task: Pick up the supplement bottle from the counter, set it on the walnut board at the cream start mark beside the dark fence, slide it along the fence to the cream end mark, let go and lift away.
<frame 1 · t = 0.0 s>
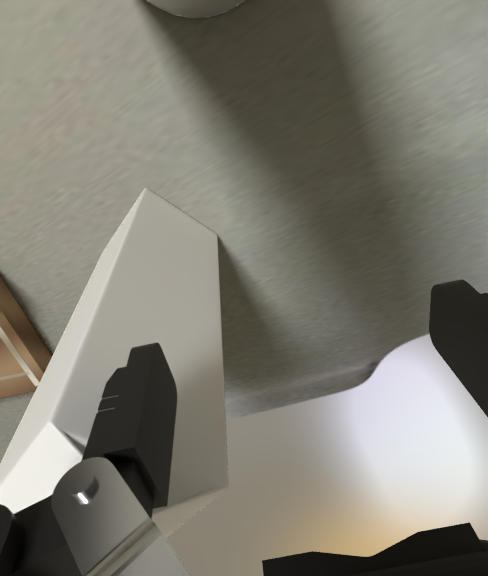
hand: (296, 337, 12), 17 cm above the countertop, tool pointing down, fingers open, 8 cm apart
milk: (160, 241, 28), on the countertop, touching gripper
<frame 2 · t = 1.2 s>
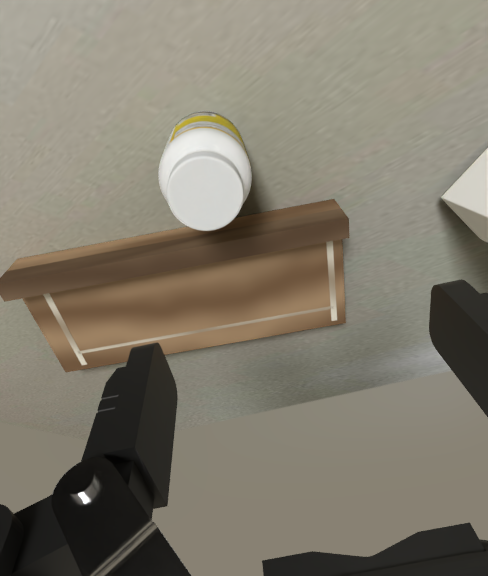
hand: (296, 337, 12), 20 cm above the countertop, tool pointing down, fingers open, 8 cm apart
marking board: (190, 286, 34), on the countertop
milk: (487, 188, 31), on the countertop
supplement bottle: (206, 149, 28), on the countertop
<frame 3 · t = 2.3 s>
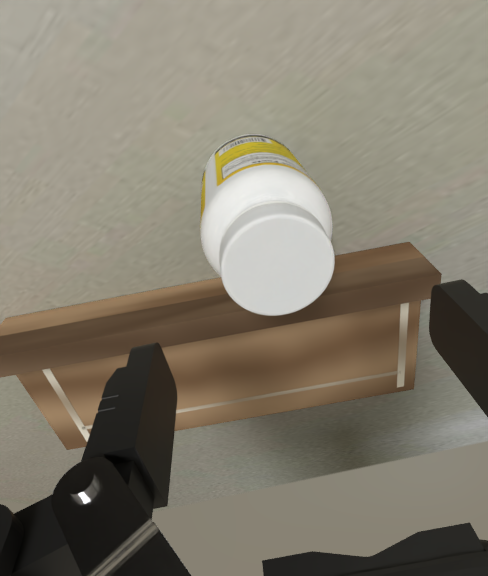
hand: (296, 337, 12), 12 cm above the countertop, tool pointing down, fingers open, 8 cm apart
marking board: (221, 346, 28), on the countertop
supplement bottle: (251, 182, 22), on the countertop
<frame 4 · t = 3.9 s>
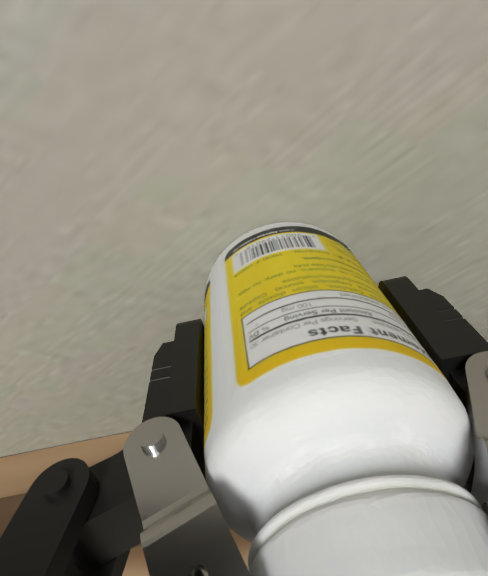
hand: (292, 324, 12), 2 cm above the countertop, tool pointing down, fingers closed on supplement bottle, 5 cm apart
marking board: (236, 488, 20), on the countertop
supplement bottle: (281, 286, 14), on the countertop, touching gripper
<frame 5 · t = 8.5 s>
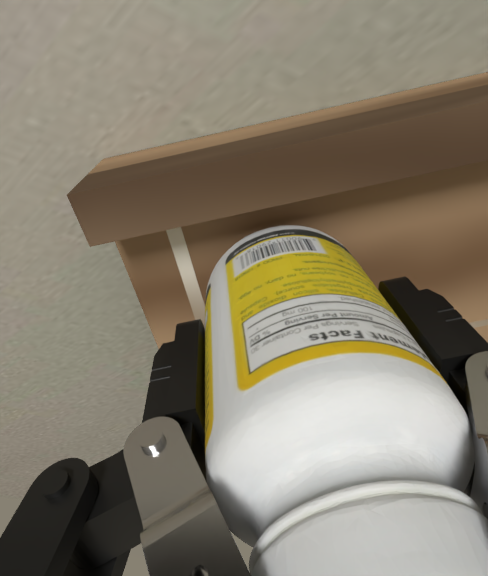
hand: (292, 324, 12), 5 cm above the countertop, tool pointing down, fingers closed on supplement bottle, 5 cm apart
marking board: (464, 225, 16), on the countertop
supplement bottle: (282, 289, 14), point 2 cm above the countertop, touching gripper
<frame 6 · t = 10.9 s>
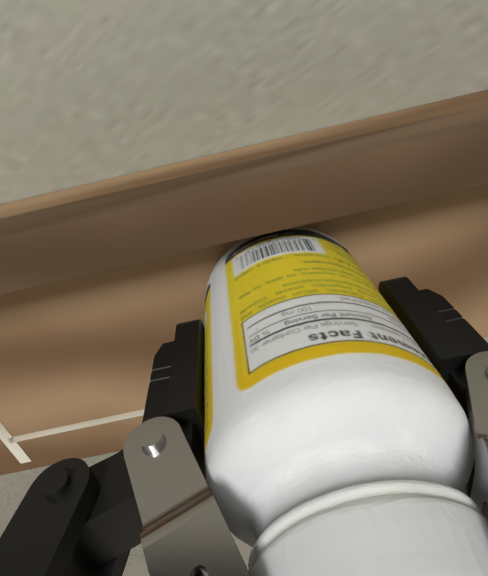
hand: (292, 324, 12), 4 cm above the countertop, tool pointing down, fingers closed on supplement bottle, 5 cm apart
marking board: (242, 290, 16), on the countertop
supplement bottle: (281, 289, 14), point 2 cm above the countertop, touching gripper
when the fingers open (4 cm above the countertop, at t = 13.2 s): supplement bottle stays where it is, resting on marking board.
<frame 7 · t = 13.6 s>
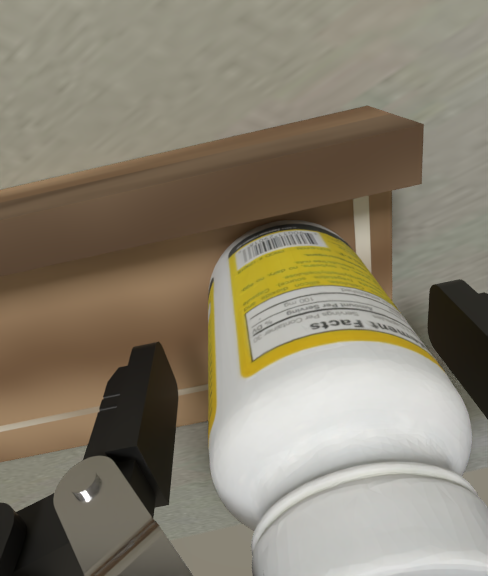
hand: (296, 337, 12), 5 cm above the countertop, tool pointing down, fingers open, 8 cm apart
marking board: (63, 317, 16), on the countertop
supplement bottle: (284, 284, 14), point 2 cm above the countertop, touching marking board
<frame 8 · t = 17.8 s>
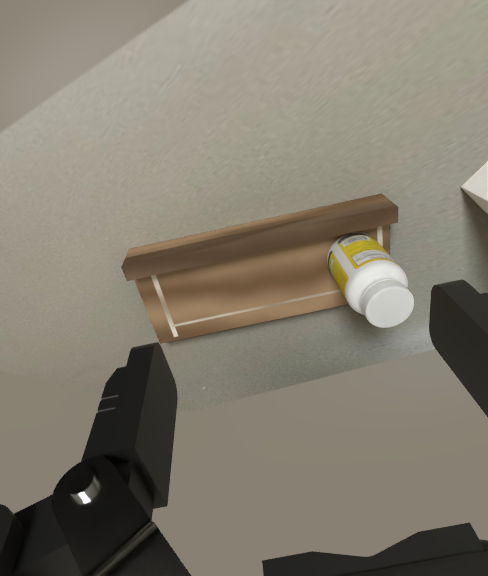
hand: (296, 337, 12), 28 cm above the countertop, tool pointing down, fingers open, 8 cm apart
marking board: (263, 268, 42), on the countertop
supplement bottle: (351, 254, 40), point 2 cm above the countertop, touching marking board
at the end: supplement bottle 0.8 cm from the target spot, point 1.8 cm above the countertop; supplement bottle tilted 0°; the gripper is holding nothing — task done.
